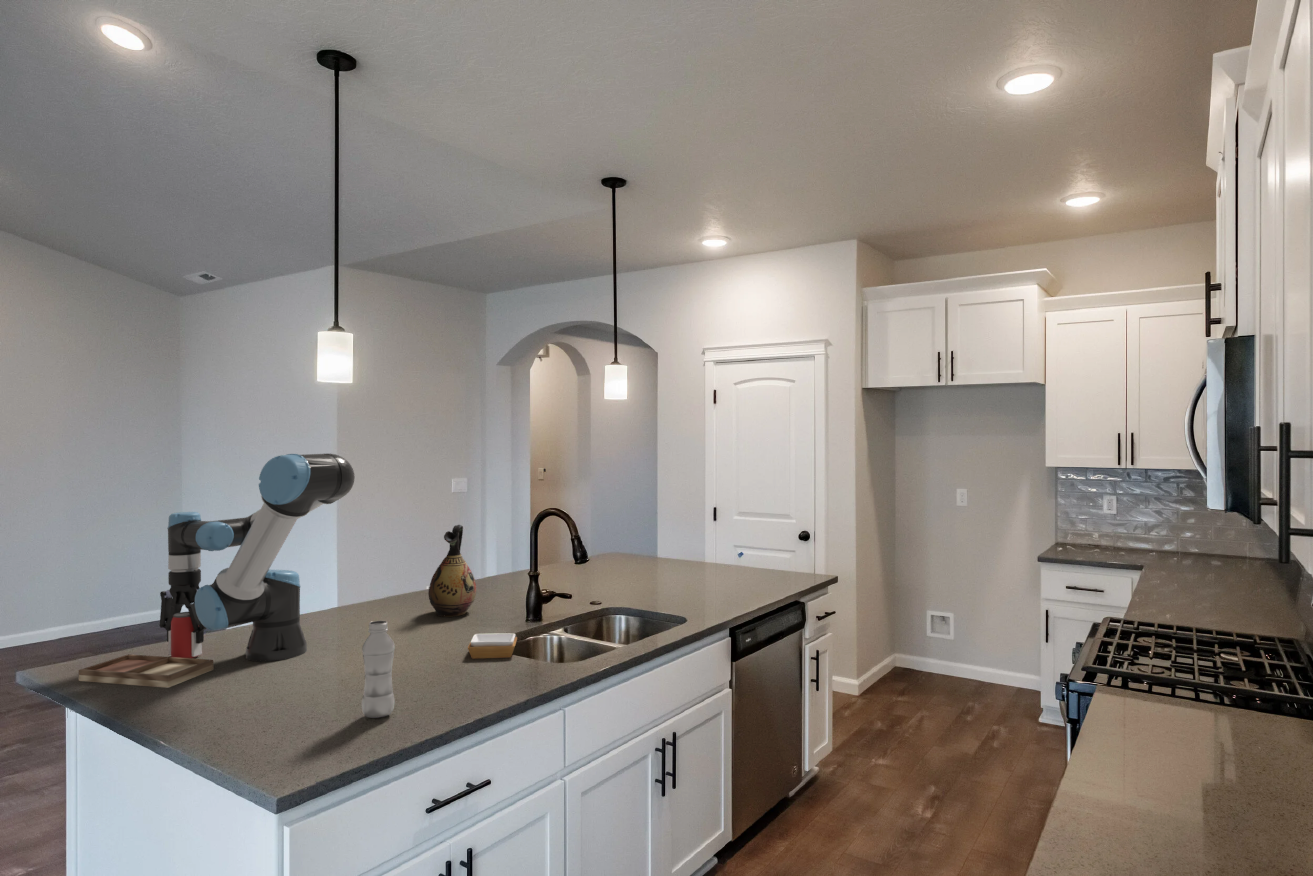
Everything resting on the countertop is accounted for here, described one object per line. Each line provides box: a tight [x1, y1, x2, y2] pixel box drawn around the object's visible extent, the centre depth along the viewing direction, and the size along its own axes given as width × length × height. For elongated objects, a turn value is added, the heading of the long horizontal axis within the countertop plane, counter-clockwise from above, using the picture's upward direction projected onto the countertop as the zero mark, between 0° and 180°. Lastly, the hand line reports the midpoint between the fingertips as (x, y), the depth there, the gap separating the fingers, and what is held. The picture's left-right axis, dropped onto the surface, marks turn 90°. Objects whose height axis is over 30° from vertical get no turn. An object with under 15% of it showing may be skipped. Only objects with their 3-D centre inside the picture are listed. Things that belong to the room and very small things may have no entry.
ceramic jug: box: [427, 524, 477, 618], centre depth 259 cm, size 17×15×30 cm
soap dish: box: [467, 632, 518, 660], centre depth 212 cm, size 12×10×5 cm
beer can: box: [170, 611, 200, 659], centre depth 209 cm, size 7×7×12 cm
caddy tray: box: [78, 653, 214, 689], centre depth 194 cm, size 26×14×3 cm, turn 78°
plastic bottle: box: [361, 620, 396, 719], centre depth 165 cm, size 6×7×20 cm
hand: (185, 654), depth 209 cm, fingers closed on beer can, 7 cm apart
